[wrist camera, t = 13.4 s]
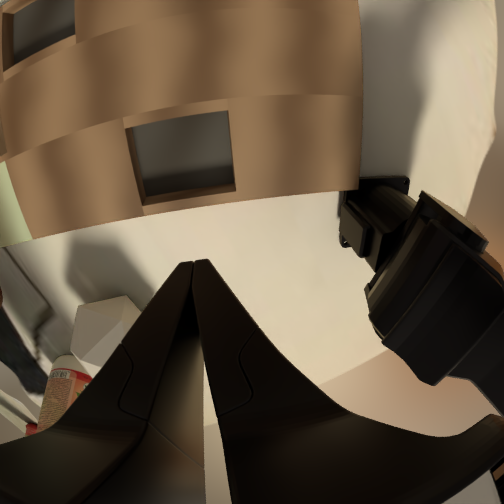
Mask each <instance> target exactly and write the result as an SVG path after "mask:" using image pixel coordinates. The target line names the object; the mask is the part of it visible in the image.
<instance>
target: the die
mask: <svg viewBox="0 0 504 504" xmlns="http://www.w3.org/2000/svg"><path fill="white" fill-rule="evenodd" d="M140 314H141V312H140V310H139V309H138V308H137V307H136V306H135V305H134V304H133V302H132V301H131V300H130V299H129V298H128V296H127V295H124V296H120V297H115V298H111V299H106V300H102V301H97V302H93V303H88V304H84V305H79V306H78V308H77V313H76V318H75V323H74V328H73V333H72V339H71V345H70V350H71V352H72V353H73V354H74V356H75V357H76V358H77V360H78V361H79V362H80V363H81V365H82V366H83V367H84V368H85V370H86V371H87V372H88V373H89V375H90V376H91V377H92V378H94V376H95V375H96V374H97V373H98V372H99V370H100V369H101V368H102V366H103V365H104V364H105V362H106V361H107V360H108V358H109V357H110V356H111V354H112V353H113V351H114V350H115V349H116V347H117V346H118V344H119V343H121V340H122V339H123V337H124V336H125V335H126V333H127V332H128V330H129V329H130V328H131V326H132V325H133V324H134V322H135V321H136V319H137V318H138V317H139V315H140ZM121 344H122V343H121Z"/></svg>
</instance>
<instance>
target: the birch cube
mask: <svg viewBox="0 0 504 504" xmlns="http://www.w3.org/2000/svg"><path fill="white" fill-rule="evenodd" d="M6 153H7V149H6V145H5V141H4V136H3V131H2V126H1V121H0V156H2V155H4V154H6Z"/></svg>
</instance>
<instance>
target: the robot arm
mask: <svg viewBox="0 0 504 504" xmlns="http://www.w3.org/2000/svg"><path fill="white" fill-rule="evenodd" d="M404 181H405V182H404ZM409 184H410V180H409V178H408V177H406V176H376V177H359V185H358V189H357V190H344V202H343V204H342V205H341V215H340V225H339V231H340V232H341V233H340V244H341V246H342V247H343V248H347V247H352V248H353V250H354V251H355V253H356V254H357V255H358V256H359V257H360V258H365V260H366V261H367V262H368V264H369V265H370V267H371V268H372V269H373V271H374V272H375V273H376V274H375V275H374V277H373V278H372V280H371V281H370V283H368V284H367V285H366V287H365V288H364V291H365V295H366V299H367V303H368V308H369V314H368V316H369V320H370V322H371V323H372V325H373V328H374V330H375V333H376V334H377V335H378V336H379V337H380V338H381V339H382V341H381V342H382V344H383V345H384V346H386V347H387V348H389V349H390V350H392V351H394V352H395V353H396V354H397V355H398V356H399V357H400V358H402V359H403V360H404V361H405V362H406V364H407V365H408V366H409V367H410V369H411V370H412V371H413V372H414V374H415V375H416V376H417V378H418V379H419V380H420V381H422V382H424V383H427V384H429V385H431V386H436V385H437V384H438V383H439V382H440V381H441V380H442V379H443V378H445V377H446V376H448V377H453V378H459V379H465V380H469V381H471V382H472V383H473V384H474V385H475V386H476V387H477V388H478V390H479V391H480V392H481V393H482V394H483V395H484V396H485V397H486V399H487V400H488V401H489V402H490V403H491V404H492V405H493V407H494V408H495V409H496V410H497V411H498V413H499V414H500V415H501V416H502V417H501V416H497V415H494V414H489V415H487V416H486V417H484V418H483V419H482V420H480V421H479V422H477V423H476V424H475V425H473V426H472V427H470V428H469V429H467V430H466V431H464V432H462V433H461V434H458V435H454V436H450V437H435V436H428V435H424V434H420V433H416V432H412V431H408V430H405V429H401V428H398V427H394V426H391V425H388V424H385V423H381V422H378V421H375V420H372V419H369V418H366V417H363V416H360V415H357V414H355V413H353V412H350V411H348V410H347V409H345V408H343V407H342V406H340V405H339V404H337V403H336V402H335V401H333V400H332V399H331V398H330V397H329V396H327V395H326V394H325V393H324V392H323V391H322V390H321V389H319V388H318V387H317V386H316V385H315V384H314V383H313V382H311V381H310V380H309V379H308V378H307V377H306V376H305V375H304V374H303V373H301V372H300V371H299V370H298V369H297V368H296V367H295V366H294V365H293V364H292V363H291V362H290V361H289V360H288V359H287V358H286V357H285V356H284V355H283V354H282V353H281V352H280V351H279V350H278V349H277V348H276V347H275V346H274V344H273V343H272V342H271V341H270V340H269V339H268V337H267V336H266V335H265V334H264V332H263V331H262V330H261V328H259V326H258V325H257V323H256V322H255V321H254V320H253V318H252V317H251V316H250V314H249V313H248V312H247V310H246V309H245V308H244V306H243V305H242V304H241V302H240V301H239V300H238V298H237V297H236V296H235V294H234V293H233V292H232V290H231V289H230V288H229V286H228V285H227V284H226V282H225V281H224V280H223V278H222V277H221V275H220V274H219V273H218V271H217V270H216V269H215V267H214V266H213V265H212V263H211V262H210V260H209V259H201V260H196V261H195V262H193V261H187V262H181V263H179V264H178V265H177V267H176V268H175V269H174V271H173V272H172V273H171V274H170V276H169V277H168V278H167V280H166V281H165V282H164V283H163V285H162V286H161V287H160V289H159V290H158V291H157V293H156V294H155V295H154V297H153V298H152V299H151V301H150V302H149V303H148V305H147V306H146V307H145V309H144V310H143V311H142V313H141V314H140V315H139V317H138V318H137V319H136V321H135V322H134V324H133V325H132V326H131V328H130V329H129V330H128V332H127V333H126V335H125V336H124V337H123V339H122V340H121V343H122V344H121V343H119V344H118V346H117V347H116V349H115V350H114V351H113V353H112V354H111V356H110V357H109V358H108V360H107V361H106V362H105V364H104V365H103V366H102V368H101V369H100V370H99V372H98V373H97V374H96V375H95V376H94V378H93V379H92V380H91V381H90V383H89V384H88V385H87V386H86V387H85V389H84V390H83V391H82V392H81V393H80V395H79V396H78V397H77V398H76V399H75V401H74V402H73V403H72V404H71V406H70V407H69V408H68V409H67V410H66V412H65V413H64V414H63V415H62V416H61V418H60V419H59V420H58V421H56V422H55V423H54V424H53V425H52V426H50V427H49V428H47V429H45V430H43V431H40V432H38V433H35V434H32V435H29V436H26V437H23V438H20V439H17V440H13V441H10V442H7V443H4V444H0V504H206V494H205V471H204V430H203V381H204V362H205V367H206V372H207V377H208V381H209V386H210V390H211V395H212V399H213V404H214V408H215V412H216V416H217V418H218V424H219V428H220V433H221V438H222V443H223V449H224V456H225V463H226V470H227V476H228V483H229V489H230V496H231V501H232V504H504V272H503V269H502V267H501V265H500V264H499V263H498V262H497V261H496V260H495V259H494V258H493V257H492V256H491V255H489V253H488V252H486V251H485V248H486V247H487V245H488V243H489V241H488V240H487V239H486V238H485V237H484V235H483V234H482V233H481V232H480V231H479V230H478V229H477V228H476V227H475V225H473V224H472V223H471V222H470V221H468V220H467V219H466V218H465V217H463V216H462V215H461V214H459V213H458V212H457V211H455V210H454V209H452V208H451V207H449V206H448V205H446V204H444V203H443V202H441V201H440V200H438V199H436V198H435V197H433V196H431V195H430V194H428V193H426V192H425V191H423V190H422V191H421V193H420V195H419V197H420V198H419V200H418V202H416V201H415V200H413V199H412V198H411V197H409V196H408V191H409ZM345 241H347V242H346V243H344V242H345Z"/></svg>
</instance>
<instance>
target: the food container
mask: <svg viewBox="0 0 504 504" xmlns="http://www.w3.org/2000/svg"><path fill="white" fill-rule="evenodd" d="M2 302H3V295H2V291H1V287H0V307H1V305H2Z"/></svg>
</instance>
